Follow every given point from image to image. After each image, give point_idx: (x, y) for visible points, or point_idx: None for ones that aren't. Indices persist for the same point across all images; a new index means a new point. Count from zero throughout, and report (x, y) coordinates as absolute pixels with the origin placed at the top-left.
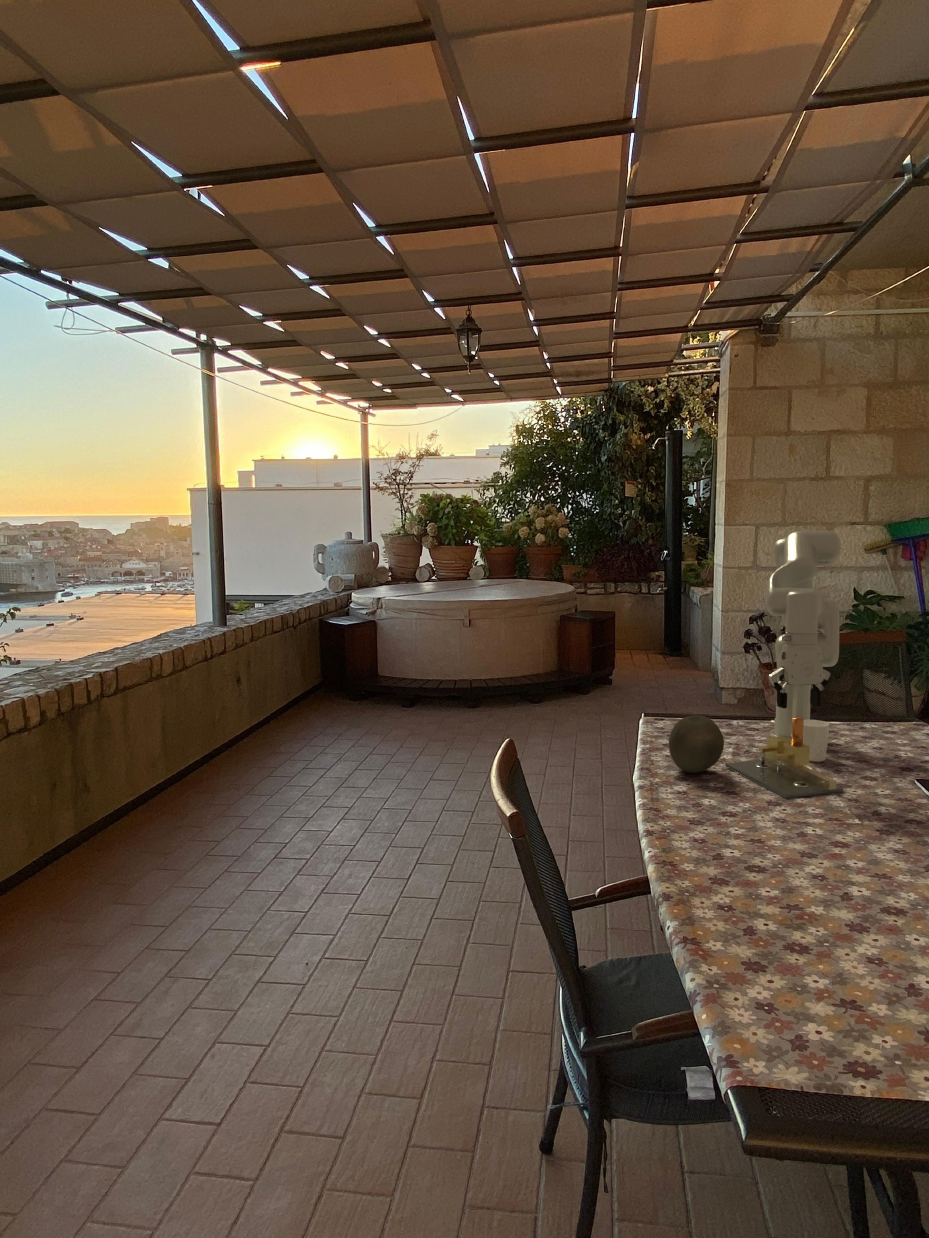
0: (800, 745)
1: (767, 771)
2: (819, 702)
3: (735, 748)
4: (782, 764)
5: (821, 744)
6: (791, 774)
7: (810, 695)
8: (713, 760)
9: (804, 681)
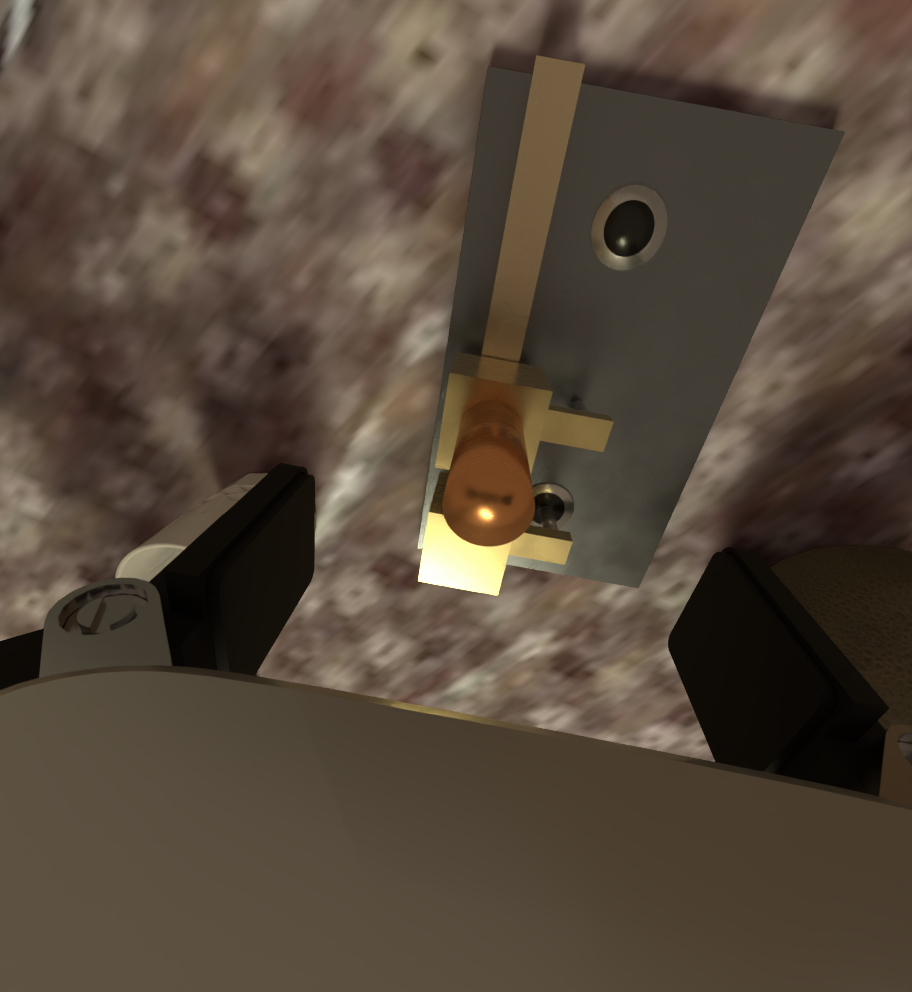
0: (496, 401)
1: (589, 450)
2: (273, 480)
3: (438, 684)
4: None
5: (235, 502)
6: None
7: (273, 638)
8: (864, 546)
9: (672, 855)
